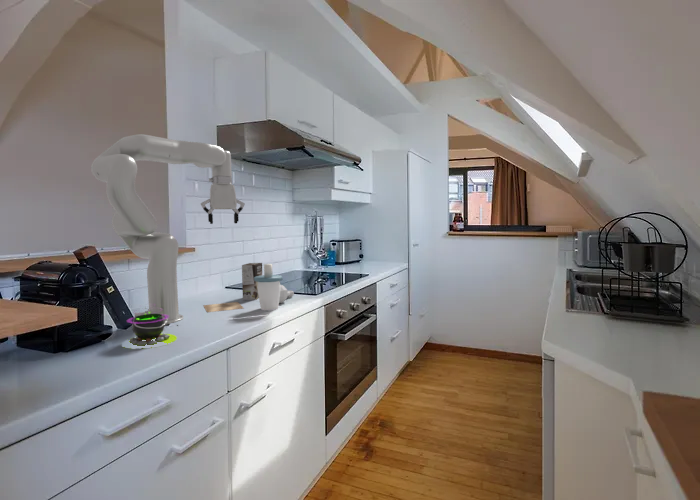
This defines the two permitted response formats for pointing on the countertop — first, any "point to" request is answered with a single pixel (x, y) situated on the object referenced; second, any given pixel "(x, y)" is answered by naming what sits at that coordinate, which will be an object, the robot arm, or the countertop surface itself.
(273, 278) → the lid
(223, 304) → the board
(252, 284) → the coffee box
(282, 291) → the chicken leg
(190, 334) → the countertop surface
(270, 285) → the cup
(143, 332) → the toy cauldron
